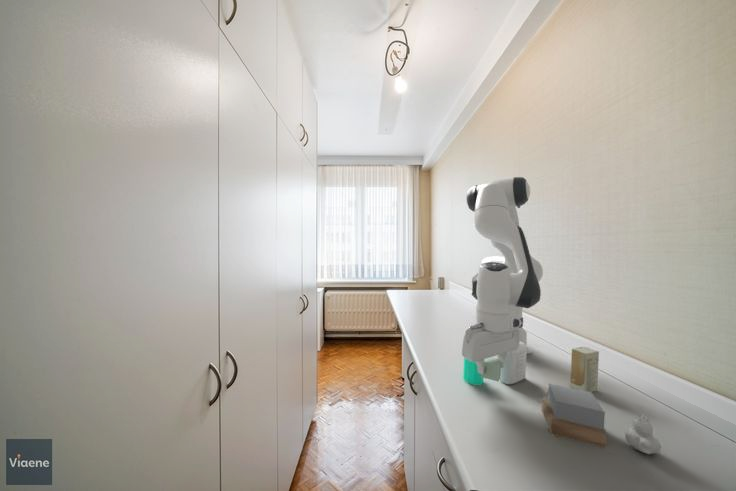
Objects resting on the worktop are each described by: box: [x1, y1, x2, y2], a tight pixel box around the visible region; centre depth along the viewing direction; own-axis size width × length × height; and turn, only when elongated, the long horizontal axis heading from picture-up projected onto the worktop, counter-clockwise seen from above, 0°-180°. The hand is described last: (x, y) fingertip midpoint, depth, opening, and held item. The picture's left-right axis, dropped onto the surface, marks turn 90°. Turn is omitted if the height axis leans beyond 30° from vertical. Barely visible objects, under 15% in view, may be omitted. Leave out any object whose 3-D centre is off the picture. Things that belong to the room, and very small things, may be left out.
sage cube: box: [481, 356, 501, 383], centre depth 78 cm, size 4×4×4 cm
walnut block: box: [541, 396, 607, 448], centre depth 67 cm, size 10×10×4 cm
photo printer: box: [499, 342, 528, 385], centre depth 90 cm, size 10×4×12 cm, turn 124°
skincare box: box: [569, 346, 600, 393], centre depth 86 cm, size 6×4×12 cm
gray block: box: [547, 383, 606, 430], centre depth 67 cm, size 9×9×4 cm
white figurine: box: [624, 412, 662, 455], centre depth 60 cm, size 5×7×8 cm
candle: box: [462, 357, 484, 386], centre depth 88 cm, size 6×6×12 cm
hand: (490, 370), depth 78 cm, fingers closed on sage cube, 6 cm apart
